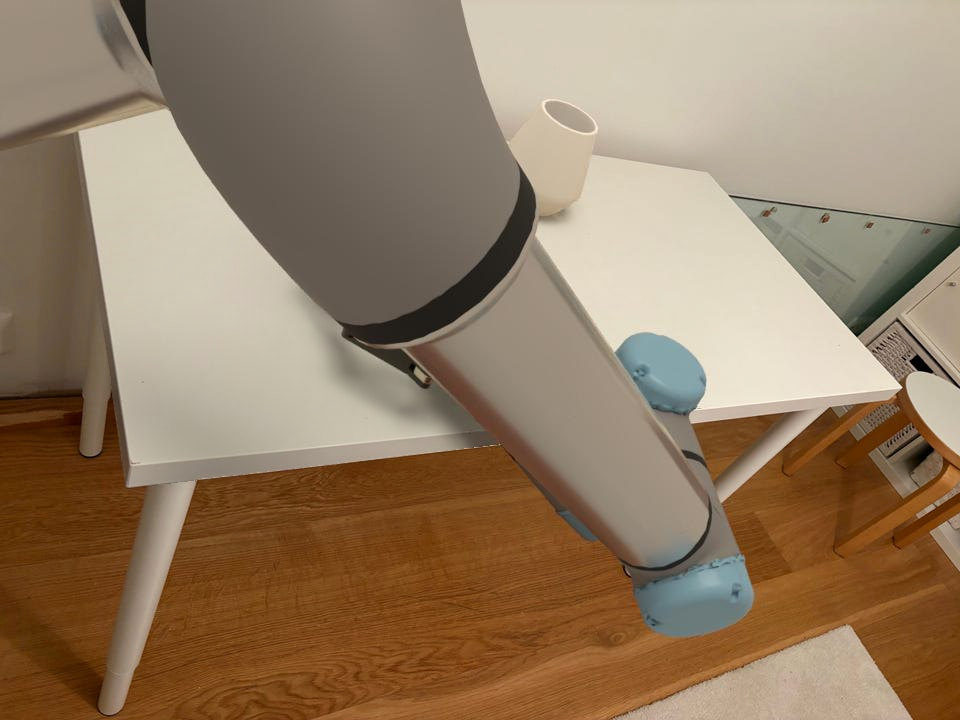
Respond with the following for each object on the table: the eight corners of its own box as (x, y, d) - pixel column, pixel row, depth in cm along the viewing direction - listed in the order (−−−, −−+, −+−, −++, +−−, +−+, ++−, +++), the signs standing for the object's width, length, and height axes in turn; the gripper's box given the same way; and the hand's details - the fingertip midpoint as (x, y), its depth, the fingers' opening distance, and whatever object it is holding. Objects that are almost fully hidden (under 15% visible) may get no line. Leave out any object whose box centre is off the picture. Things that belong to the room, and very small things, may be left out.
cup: (527, 165, 116) (565, 86, 107) (585, 216, 112) (630, 139, 103) (471, 176, 107) (507, 91, 98) (532, 232, 103) (576, 149, 94)
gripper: (398, 468, 63) (272, 306, 71) (571, 382, 80) (454, 258, 87) (425, 415, 58) (286, 247, 66) (603, 335, 75) (476, 209, 83)
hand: (381, 253), depth 77 cm, fingers open, 13 cm apart
